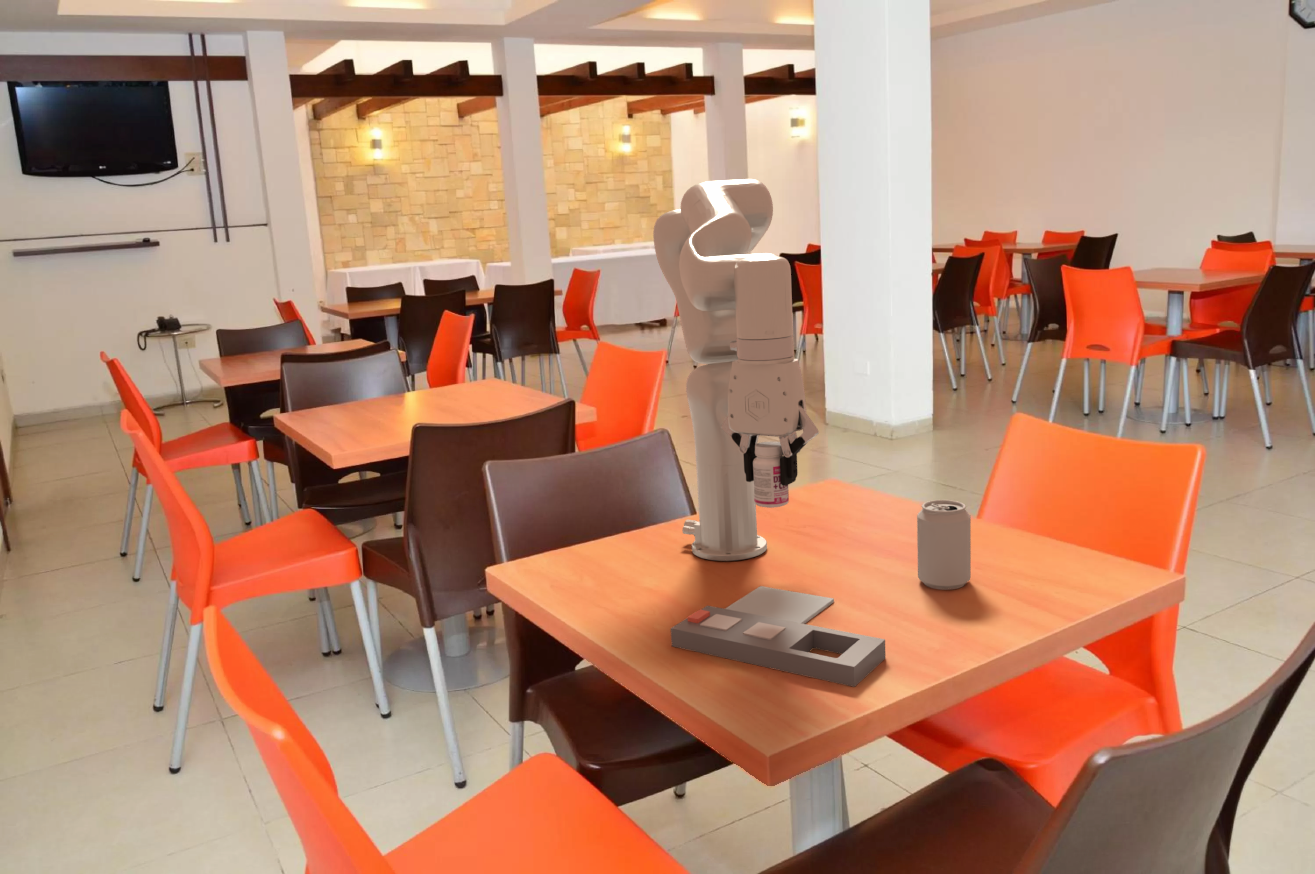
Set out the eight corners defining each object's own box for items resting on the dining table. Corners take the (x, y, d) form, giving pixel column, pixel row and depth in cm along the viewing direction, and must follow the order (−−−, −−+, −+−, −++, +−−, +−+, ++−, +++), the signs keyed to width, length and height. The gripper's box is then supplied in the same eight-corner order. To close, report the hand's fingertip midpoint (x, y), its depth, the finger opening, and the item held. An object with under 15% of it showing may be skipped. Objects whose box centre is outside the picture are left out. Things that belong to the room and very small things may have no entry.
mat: (718, 616, 145) (717, 613, 145) (760, 589, 155) (760, 585, 155) (794, 631, 138) (794, 627, 138) (834, 601, 148) (833, 598, 148)
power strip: (671, 646, 136) (670, 623, 136) (708, 622, 143) (707, 601, 143) (854, 686, 121) (853, 662, 121) (885, 658, 128) (885, 634, 128)
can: (972, 592, 148) (972, 511, 146) (918, 591, 150) (918, 511, 147) (968, 574, 155) (968, 497, 153) (916, 573, 157) (916, 497, 155)
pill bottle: (780, 509, 140) (777, 449, 139) (748, 506, 143) (745, 447, 141) (794, 500, 144) (792, 441, 142) (764, 497, 147) (761, 439, 145)
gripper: (697, 352, 141) (704, 482, 145) (809, 355, 131) (814, 494, 135) (726, 345, 147) (732, 469, 151) (835, 347, 137) (839, 480, 141)
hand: (770, 480), depth 143 cm, fingers closed on pill bottle, 4 cm apart
